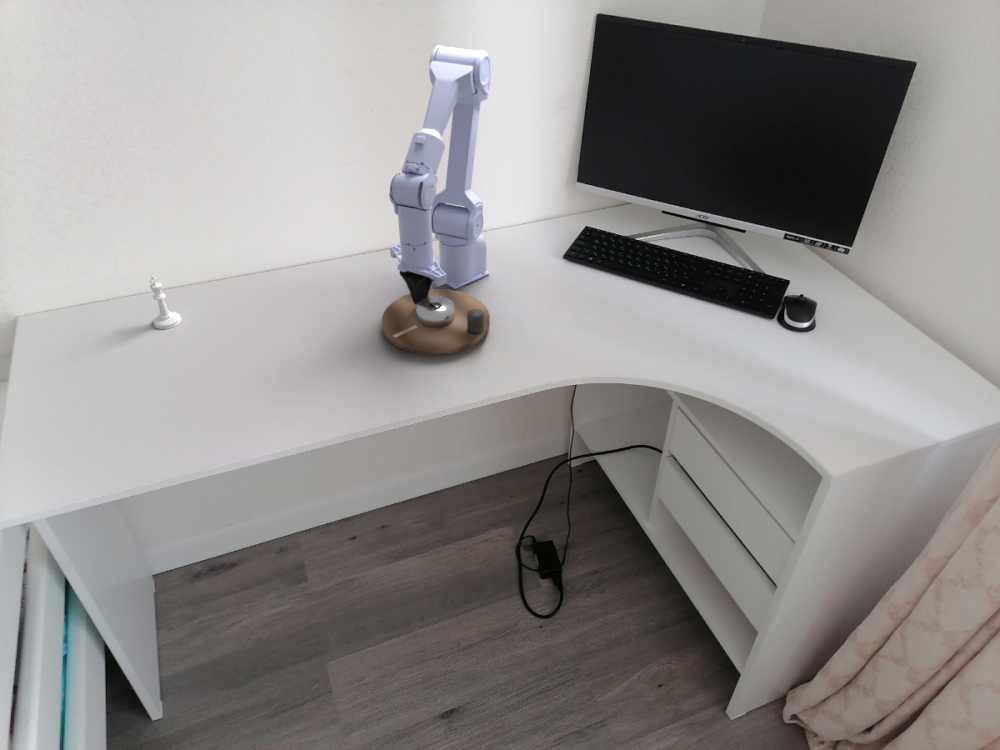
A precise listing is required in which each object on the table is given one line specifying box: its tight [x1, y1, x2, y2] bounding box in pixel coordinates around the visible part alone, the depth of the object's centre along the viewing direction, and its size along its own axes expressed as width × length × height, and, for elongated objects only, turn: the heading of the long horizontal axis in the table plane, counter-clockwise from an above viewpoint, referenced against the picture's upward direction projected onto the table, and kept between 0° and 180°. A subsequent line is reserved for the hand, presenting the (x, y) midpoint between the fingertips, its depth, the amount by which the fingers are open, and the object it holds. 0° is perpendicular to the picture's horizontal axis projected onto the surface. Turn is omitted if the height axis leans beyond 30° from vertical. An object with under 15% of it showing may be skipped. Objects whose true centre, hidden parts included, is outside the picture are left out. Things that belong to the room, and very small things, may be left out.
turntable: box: [381, 288, 490, 356], centre depth 135 cm, size 20×20×5 cm
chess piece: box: [149, 274, 182, 330], centre depth 135 cm, size 5×5×10 cm
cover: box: [416, 296, 455, 328], centre depth 135 cm, size 7×7×3 cm
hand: (420, 303), depth 138 cm, fingers closed
